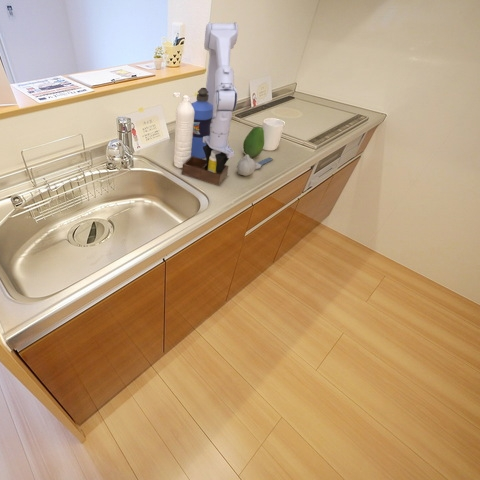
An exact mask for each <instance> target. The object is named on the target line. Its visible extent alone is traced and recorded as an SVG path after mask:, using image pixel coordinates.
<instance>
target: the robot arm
mask: <svg viewBox="0 0 480 480" xmlns="http://www.w3.org/2000/svg"><path fill="white" fill-rule="evenodd" d="M204 32H205V33H204V41H203V42H204V43H203V47H204V48H203V49H204V50H205V51H208V56H209V57H208V65H207V75H206V83H205V88H206V89H207V91H208V95H209V96H208V102H209V103H211V104H212V105H213V117H212V121H211V125H210V137H209V136H204V137H203V143H207V145H206V146H203V150H204V152H205V155H206V157H205V160H207V166H208V164H209V157H210V156H211V151H212V150H217V151H220V152H221V153H219V154H216V155H215V157H216V163H217V164H216V172H217V173H219V172H222V170H223V168H224V166H225V165H227V162H228V161H229V159H233V158H234V157H235V153H236V152H235V151H234V150H233V149H232V148H231V147H230V145H229V143H230V142H229V134H230V129H231V122H232V117H233V112H235V111H236V109H237V104H238V90H237V88H236V86H235V75H234V68H232V67H231V50H232V49H234V48H235V45H236V43H237V42H238V35H239V25H238V23H237V22H207V24H206V26H205V31H204Z"/></svg>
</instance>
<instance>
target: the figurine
mask: <svg viewBox="0 0 480 480" xmlns="http://www.w3.org/2000/svg"><path fill="white" fill-rule="evenodd" d="M256 166H257V165H256V164H255V160H254V159H253V158H252V157H249V155H246V154H245V155H244V156H243V157H242V158H241V159H240V160H239V161H238V162H237V165H236V170H237V172H239V173H240V174H241V176H245V177H246V176H247V177H248V176H250V175H252V174H253V173H254V172H255V171H256V169H255V167H256ZM240 174H239V175H240Z"/></svg>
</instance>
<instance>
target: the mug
mask: <svg viewBox="0 0 480 480" xmlns="http://www.w3.org/2000/svg"><path fill="white" fill-rule="evenodd" d="M285 125H286V122H285V121H284V120H282V119H280V118H274V117H269V118H268V117H267V118H265V119H263V121H262V125H261V127H262V128H263V130H264V147H263V149H262V151H266V152H267V151H268V152H270V151H271V152H272V151H275V150H277V149H278V147H279V144H280V142H281V138H282V136H283V135H282V134H283V131H284V128H285Z"/></svg>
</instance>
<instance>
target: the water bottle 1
mask: <svg viewBox="0 0 480 480" xmlns="http://www.w3.org/2000/svg"><path fill="white" fill-rule="evenodd" d="M172 96H173V98H181V92H180V91H179V92H178V91H176V92H173V95H172ZM190 100H191V98H190V95H186V94H185V95H183V96H182V98H181V101H180V103H179V105H178V106H177V108H176V111H175V125H174V126H175V127H174V151H173V152H174V154H173V165H174V166H175V167H176V168H178V169H182V168H183V164H184V163H185V162H186V161H187V160H188V159H189V158H190V157H191V149H192V137H193V123H194V114H195V112H194V108H193V106H192V104H191V103H192V102H191V101H190Z"/></svg>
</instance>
